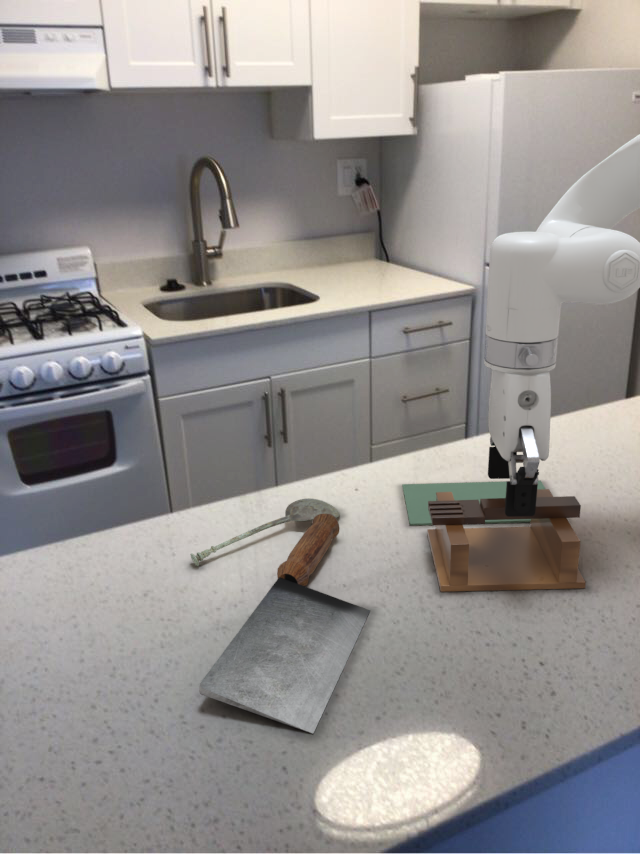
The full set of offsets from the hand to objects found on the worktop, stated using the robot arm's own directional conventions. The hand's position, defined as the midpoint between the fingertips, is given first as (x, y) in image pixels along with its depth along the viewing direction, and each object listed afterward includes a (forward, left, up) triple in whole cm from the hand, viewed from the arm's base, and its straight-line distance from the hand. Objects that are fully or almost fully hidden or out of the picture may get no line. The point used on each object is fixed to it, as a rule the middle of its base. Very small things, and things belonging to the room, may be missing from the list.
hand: (509, 495), depth 87 cm
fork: (+1, 0, -3) cm, 3 cm away
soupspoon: (+29, -7, -9) cm, 31 cm away
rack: (+1, 0, -9) cm, 9 cm away
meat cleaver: (+23, +10, -9) cm, 26 cm away
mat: (+1, -15, -9) cm, 17 cm away
